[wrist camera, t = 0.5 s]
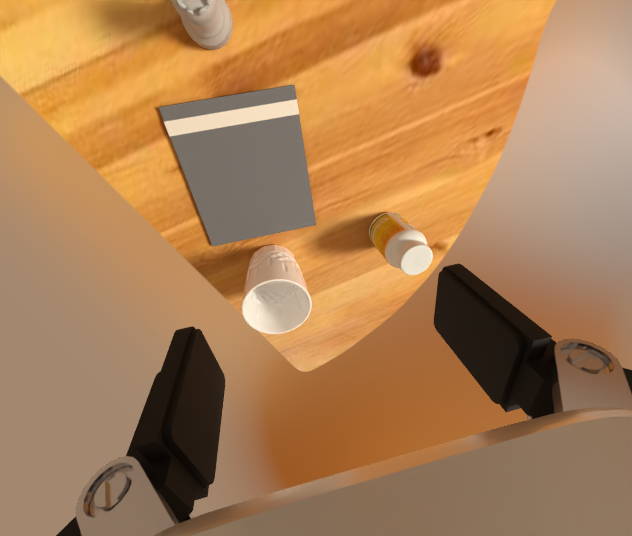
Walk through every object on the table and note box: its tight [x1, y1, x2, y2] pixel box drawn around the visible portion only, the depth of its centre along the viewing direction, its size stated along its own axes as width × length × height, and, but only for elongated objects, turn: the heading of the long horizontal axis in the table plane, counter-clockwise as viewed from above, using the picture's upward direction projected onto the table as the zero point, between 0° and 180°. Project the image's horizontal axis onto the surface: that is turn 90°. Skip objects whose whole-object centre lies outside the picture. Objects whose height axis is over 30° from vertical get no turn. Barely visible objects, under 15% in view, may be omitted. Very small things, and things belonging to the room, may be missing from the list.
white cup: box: [242, 244, 312, 334], centre depth 36 cm, size 8×8×10 cm
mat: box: [159, 85, 316, 246], centre depth 33 cm, size 16×14×1 cm
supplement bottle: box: [369, 212, 433, 275], centre depth 36 cm, size 5×5×10 cm
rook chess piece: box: [171, 0, 233, 50], centre depth 22 cm, size 4×4×8 cm
